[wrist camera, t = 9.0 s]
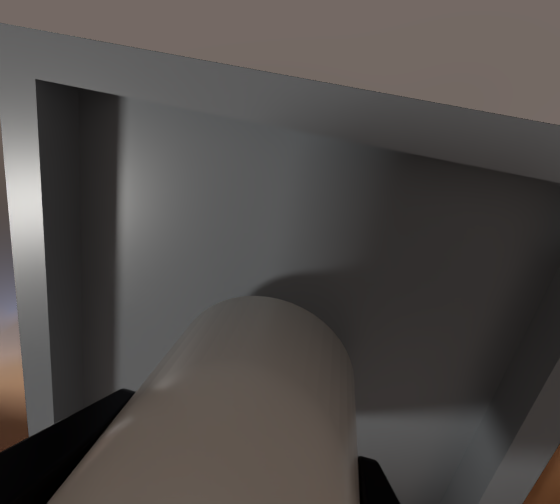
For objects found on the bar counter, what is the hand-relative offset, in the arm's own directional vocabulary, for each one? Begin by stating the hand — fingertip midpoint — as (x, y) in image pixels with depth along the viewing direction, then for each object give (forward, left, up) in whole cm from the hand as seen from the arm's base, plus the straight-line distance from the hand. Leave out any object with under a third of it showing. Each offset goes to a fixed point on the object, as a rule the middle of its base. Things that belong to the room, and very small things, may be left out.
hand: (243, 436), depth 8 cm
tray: (0, 0, -4) cm, 4 cm away
